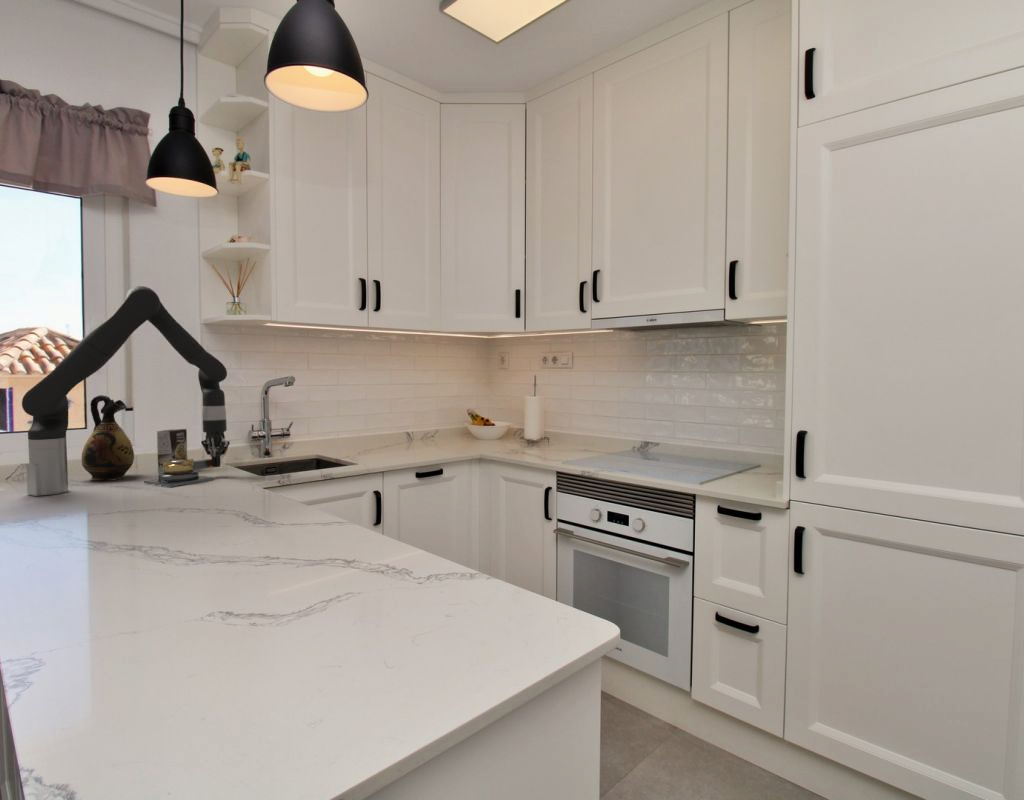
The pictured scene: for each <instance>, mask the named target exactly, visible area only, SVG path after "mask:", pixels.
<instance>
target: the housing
mask: <svg viewBox="0 0 1024 800" xmlns="http://www.w3.org/2000/svg"><path fill="white" fill-rule="evenodd" d="M182 461H186V460H173V461H171V464H180V462H182ZM157 475H158V477H157V478H153V479H146V480H143V484H144V483H149V484H155V485H154V486H156V485H161V486H160V487H163V486H167V487H166V488H169V487H170V488H174V487H173V486H176V487H179V486H178V485H182V486H185V485H184V484H188V485H193V484H197V483H198V482H199V483H204V481H205V482H209V480H211V481H214V477H213V476H206V475H200V472H199V470H194V472H191V473H186V474H175V475H167V474H163V473H158V474H157ZM192 483H193V484H192ZM199 483H198V484H199ZM149 484H148V485H149Z"/></svg>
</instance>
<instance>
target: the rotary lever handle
mask: <svg viewBox="0 0 1024 800" xmlns="http://www.w3.org/2000/svg"><path fill="white" fill-rule="evenodd" d="M171 461H173V460H169V462H163V474H167V475H175V474H186V473H191V472H194V471H198V470H203V469H212V468H215V467H212V457H211V458H205V459H199V460H194V459H193V458H189V459H188V458H187V460H186V461H182V462H180V464H171Z"/></svg>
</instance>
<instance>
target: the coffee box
mask: <svg viewBox="0 0 1024 800" xmlns="http://www.w3.org/2000/svg"><path fill="white" fill-rule="evenodd" d="M187 431H188V430H187V428H180V429H179V428H176V429H167V430H166V429H163V430H158V431H156V433H157V434H156V439H157V440H156V441H157V474H161V473H163V462H169V460H187V459H188V438H187V437H188V436H187V434H188V432H187Z"/></svg>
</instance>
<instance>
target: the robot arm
mask: <svg viewBox="0 0 1024 800" xmlns="http://www.w3.org/2000/svg"><path fill="white" fill-rule="evenodd" d="M147 321H148V322H149V323H150V324H151V325H152V326H153V327H154V328H155V329H157V330H158V332H159V333H160V334H161V335H162V336H163V338H164V339H166V341H167V342H168V343H169V344H170V346H172V348H173V349H174V350H175V351H176V352H177V353H178V354H179V355H180V356H181V357H182V358H183V359H184V360H185V361H186V362H187V363H188V364H190V365H192V366H195V367H197V369H198V372H197V373H198V374H197V375H198V376H197V378H198V383H199V387H200V390H201V394H202V415H201V417H202V432H203V433H205V439H204V440H201V445H202V446H203V449H204V450H205V452H206V455H209V456H210V457H211V458H212V467H214V468H220V467H221V457H222V456H223V455H225V454H226V452H227V450H228V448H229V446H230V440H226V436H225V432H227V431H228V429H227V410H226V400H225V399H226V398H225V392H224V391H223V390H222V389H221V387H220V383H221V382H223V381H224V380H226V378H227V376H228V371H227V368H226V367H225V364H224V363H222V362H221V361H220V360H219V359H218V358H217V357H214V355H212V354H211V353H209V351H207V350H205V348H204V347H203V346H202V345H201V344H200V343H199V342H198V341H197V340H196V338H194V337H193V335H192V334H190V333H189V331H187V330H186V329H185V328H184V327H183V326H182V325H181V324H180V323H179V322H178V321H177V320H176V319H175V318H174V317H173V316H172V315H171V314H170V313H169V311H168V310H167V309H166V307H165V306H164V304H163V303H162V302H161V300H160V297H159V295H158V294H157V293H156V291H154V290H153V289H151V288H149V287H147V286H144V285H143V286H139V285H137V286H134V287H132V288H130V289H129V290H128V291H127V292H126V295H125V300H124V301H123V302H122V304H121V305H120V306H119V307H118V309H117V310H116V311H115V312H114V313H113V315H112V316H110V317H109V318H108V319H106V320H105V321H104V322H102V323H100V324H99V325H97V327H94V329H92V330H91V331H90V332H89V333H87V334H86V335H85V336H84V337H82V339H81V340H80V341H79V342H78V343H77V344H76V345H75V346H74V347H73V348H72V349H71V350H70V351H69V352H68V353H67V354H66V355H65V357H64V358H63V359H62V360H61V361H60V362H59V363H58V364H57V365H56V367H55V368H54V369H53V370H51V372H50V373H48V375H46V376H44V378H43V379H42V380H41V381H39V382H37V383H36V384H35V385H34V386H33V387H31V388H30V389H28V390H27V392H26V393H25V394H24V395H23V397H22V399H21V407H22V410H23V411H24V412H25V414H26V415H29V416H32V424H31V426H30V428H29V430H28V431H27V440H28V441H27V443H28V445H27V446H28V463H26V464H25V465H26V467H25V470H26V491H27V492H26V493H27V495H29V496H34V497H39V496H49V495H57V494H63V493H67V492H69V473H68V471H69V470H68V452H67V451H68V450H67V449H68V448H67V445H68V444H67V432H68V431H67V430H68V429H69V428H68V427H69V400H68V397H67V396H68V394H69V392H71V391H72V390H73V388H75V387H76V386H77V385H78V384H80V383H81V382H83V381H85V380H86V379H88V378H89V377H90V376H92V375H93V374H94V373H96V372H97V371H99V370H101V368H102V367H104V366H105V365H106V363H108V362H109V361H110V360H111V359H112V358H113V357H114V356H115V355H116V354H117V352H118V351H119V350H120V349H121V348H122V346H123V345H124V344H125V343H126V342H127V340H128V339H129V337H130V336H131V335H133V333H134V332H135V331H136V330H137V329H138V328H139V327H141V326H142V325H144V324H145V322H147Z"/></svg>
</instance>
